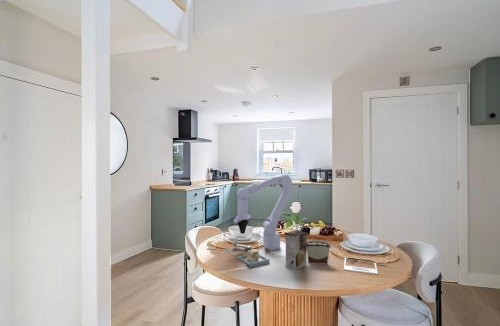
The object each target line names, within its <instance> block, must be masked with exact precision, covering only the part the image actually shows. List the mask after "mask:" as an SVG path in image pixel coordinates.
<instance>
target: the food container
mask: <svg viewBox="0 0 500 326" xmlns="http://www.w3.org/2000/svg"><path fill="white" fill-rule="evenodd" d="M306 242H307V243H306V244H307V263H308V264H314V265H328V263H329V255H330V254H329V253H330V252H329V251H330V249H331V248H332V247H331V245H330V243H329V242H327V241H324V240H308V241H306Z"/></svg>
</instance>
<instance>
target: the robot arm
mask: <svg viewBox="0 0 500 326" xmlns="http://www.w3.org/2000/svg"><path fill="white" fill-rule="evenodd" d="M271 185H279V187H280V189H281V193H280V196H279V197H278V200H277V202H276V204H275V205H274V208H273V209H272V212H271V213H270V215H269V216H268V217H267V219H265V220H264V221H263V224H262V227H263V229H264V230H263V233H262V235H263V236H262V237H263V239H262V240H263V243H262V245H263V246H262V247H263V248H264V249H268V250H270V251H274V250H280V249H282V247H281V236H280V233H279V232H278V228H277V227H278V224H279V219H280V217H281V215H282V213H283V211H284V209H285V207H286V205H287V203H288V201H289V199H290V197H291V195H292V193H293V186H292V185H293V180H292V178H291V176H289V175H288V174H283V173H281V174H277V175H274V176H272V177H269V178H267V179H265V180H263V181H261V182H252V183H251V184H250V185H247V186H246V185H244V186H243V187H240V188H239V189H238V190H237V193H236V194H237V197H238V198H237V216H236V217H235V218H233V223H234V224H235V223H236V224H237V226H238V229H239V232H240V234H246V229H247V226H248V225H249V219H252V216H251V215H250V214H249V213H248V212H249V210H248V209H249V206H248V205H249V201H248V198H249V196H250V197H251V196H253V195H255V194H257V193H260V192H261V190H262V189H263V188H266V187H269V186H271Z"/></svg>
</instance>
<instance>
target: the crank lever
mask: <svg viewBox="0 0 500 326" xmlns="http://www.w3.org/2000/svg"><path fill="white" fill-rule="evenodd" d="M232 247H242V248H246V249H251V248H253V247H252V245H246V244H239V243H238V237H232Z"/></svg>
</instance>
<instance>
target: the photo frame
mask: <svg viewBox="0 0 500 326" xmlns="http://www.w3.org/2000/svg"><path fill="white" fill-rule="evenodd" d="M343 262H344V266H343V271H346V272H347V271H348V272H353V273H354V272H355V273H362V274H363V273H364V274H369V273H371V274H372V275H377V274H378V275H379V271H378V267H377V262H376V263H374V262H373V265H374V268H369V267H362V266H361V267H360V266H353V265H347V258H345V257H344V261H343Z"/></svg>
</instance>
